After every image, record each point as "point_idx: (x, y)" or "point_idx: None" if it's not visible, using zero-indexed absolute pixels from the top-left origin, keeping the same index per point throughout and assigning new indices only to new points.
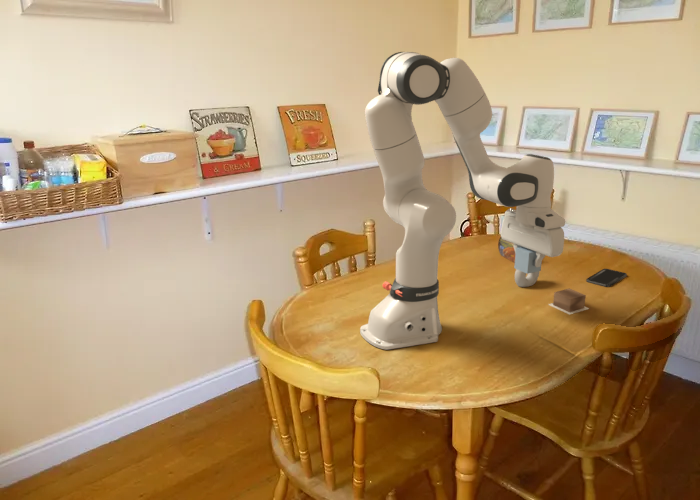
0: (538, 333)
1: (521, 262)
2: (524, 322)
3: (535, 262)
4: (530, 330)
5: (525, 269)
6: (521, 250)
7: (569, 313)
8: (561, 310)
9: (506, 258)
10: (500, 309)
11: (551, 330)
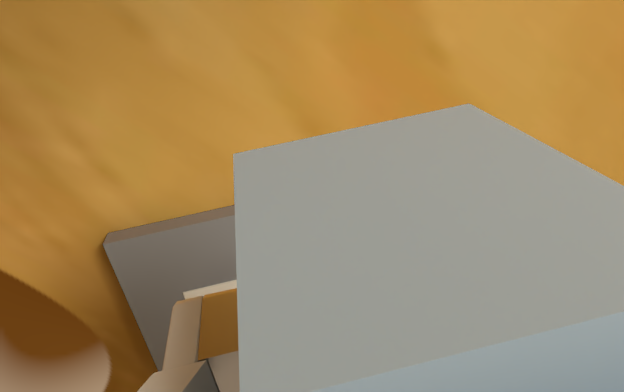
0: (35, 36)
1: (392, 177)
2: (199, 44)
3: (190, 342)
4: (84, 13)
5: (275, 164)
6: (556, 313)
7: (192, 297)
8: (235, 282)
9: None
10: (404, 8)
11: (66, 131)
